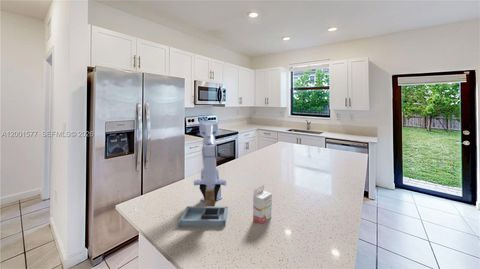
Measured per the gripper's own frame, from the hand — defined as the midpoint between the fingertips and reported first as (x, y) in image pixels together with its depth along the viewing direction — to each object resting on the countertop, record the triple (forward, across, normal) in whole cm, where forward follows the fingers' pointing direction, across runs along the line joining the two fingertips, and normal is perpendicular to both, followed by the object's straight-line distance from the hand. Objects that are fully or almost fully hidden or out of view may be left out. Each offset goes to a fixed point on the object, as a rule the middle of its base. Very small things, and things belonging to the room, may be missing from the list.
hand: (210, 200), depth 96 cm
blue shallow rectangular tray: (+9, -3, 0) cm, 9 cm away
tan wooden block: (+2, 0, 0) cm, 2 cm away
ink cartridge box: (+9, +24, 0) cm, 25 cm away
